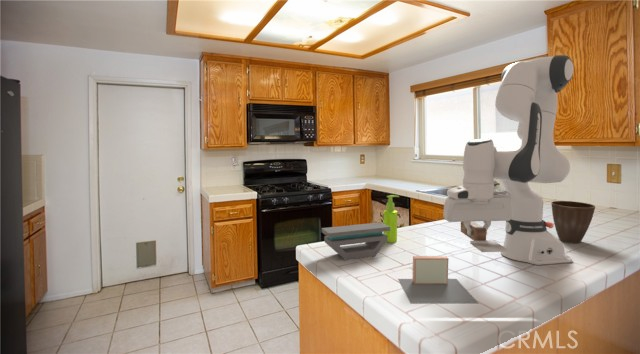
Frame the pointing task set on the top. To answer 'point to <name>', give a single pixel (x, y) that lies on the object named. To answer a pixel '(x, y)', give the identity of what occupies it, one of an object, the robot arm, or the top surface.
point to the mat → (436, 292)
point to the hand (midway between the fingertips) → (476, 234)
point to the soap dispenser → (390, 220)
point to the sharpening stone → (356, 239)
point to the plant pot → (572, 219)
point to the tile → (430, 270)
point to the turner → (482, 239)
